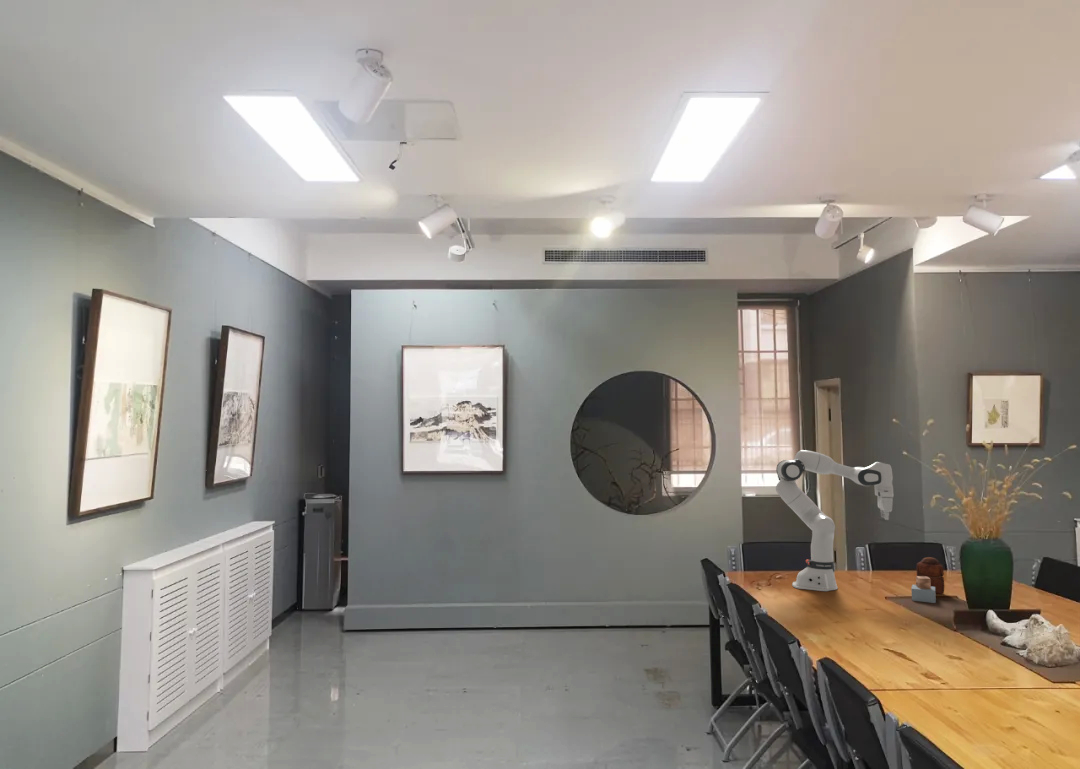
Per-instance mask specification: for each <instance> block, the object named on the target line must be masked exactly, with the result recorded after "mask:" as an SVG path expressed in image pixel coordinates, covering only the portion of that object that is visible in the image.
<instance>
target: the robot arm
mask: <svg viewBox="0 0 1080 769" xmlns="http://www.w3.org/2000/svg"><path fill="white" fill-rule="evenodd" d="M775 469H776V470H775V471H776V475H777V479H778V480H779V481H778V483H777V484H776V486H775V491H776V492H777V494H778V496H779V497H780V499H781V500H782V501H783V502H784V503H785V504H786V505H787V507H789V508H790V509H791V510H792V511H793V512H794V513H795V514H796V515H797V516H798V518H799V519H800V520H801V521H802V522H803V523H804V524H805V525H806V526H807V528H809V529H810V530H811V543H810V559H806V560H805V563H806V565H807V566H806V567H805V568H804V569H802V570H800V571H799V572H798V573H797V576H796V581H793V582H792V584H791V586H792V587H793V588H795V589H800V590H808V591H817V592H818V591H819V592H829V591H836V590H838V584H837V580H836V576H835V571H836V567H835V566H836V564H835V561H834V540H835V531H836V525H835V522H834V520H833V518H831V517H830V516H828V515H827V514H825V513H824V512H823V511H822V510H821V509H820V508H819V507H818V505H816V503H815V502H814V501H813V499H811V498H810V497H809V496H808V495H807V494H806V493H805V492H804V490H802V489H801V488H800V487H799V486H798V485H797V483H796V481H797V480H799V479H800V478H801V477H802V475H803V473H804V472H805V471H808V472H811V473H815V474H819V475H825V476H826V475H836V476H840V477H843V478H846V479H849V480H850V481H851V482H852V483H854V484H855V485H858V486H863V487H870V486H873V487H874V496H877V508H878V509H880V517H881V518H883V519H884V520H885V521H889V520H890V513H891V512H892V511H893V503H894V501H893V500H894V499H893V498H894V495H895V494H894V485H893V479H894V477H893V470H892V466H891V464H890V463H888V462H883V461H875V462H873V463H872V464H871V465H869V466H865V467H863V466H854V467H852V466H847V465H845V464H841V463H839V462H836V461H835V460H833V458H832V457H830V456H829V455H826V454H824V453H821V452H817V451H812V450H807V449H805V450H804V449H801V450H799V451H797V452H796V454H795V456H794V459H791V460H790V459H785V460H784V459H783V460H781V461H779V462H778V463H777V465H776V468H775Z"/></svg>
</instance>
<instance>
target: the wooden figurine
mask: <svg viewBox="0 0 1080 769" xmlns="http://www.w3.org/2000/svg"><path fill="white" fill-rule="evenodd" d="M915 567H916V576H927V577H928V578H930V580H931V586H932V587H935V592H936V594H939V595H943V594H944V593H945V578H944V577H943V576H944V575H945V573H944V566H943V564H941V563H940V561H939V560H938V559H937V558H935V557H931V556H927V557H923V558H922V559H921V560H920V561H919V562H916V566H915Z"/></svg>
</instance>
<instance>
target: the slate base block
mask: <svg viewBox="0 0 1080 769" xmlns="http://www.w3.org/2000/svg"><path fill="white" fill-rule="evenodd" d="M936 596H937V595H936V592H935V587H932V586H931V589H920V588H918V587H917V586H916V584H912V585H911V601H914V602H924V603H932V604H936V603H937V602H936V600H937V598H936Z"/></svg>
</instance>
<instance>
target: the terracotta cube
mask: <svg viewBox="0 0 1080 769" xmlns="http://www.w3.org/2000/svg"><path fill="white" fill-rule="evenodd" d="M915 582H916V583H915V585H916V586H917V587H918V588H920V589H931V580H930V578H928V577H927V576H917V575H915Z"/></svg>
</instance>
